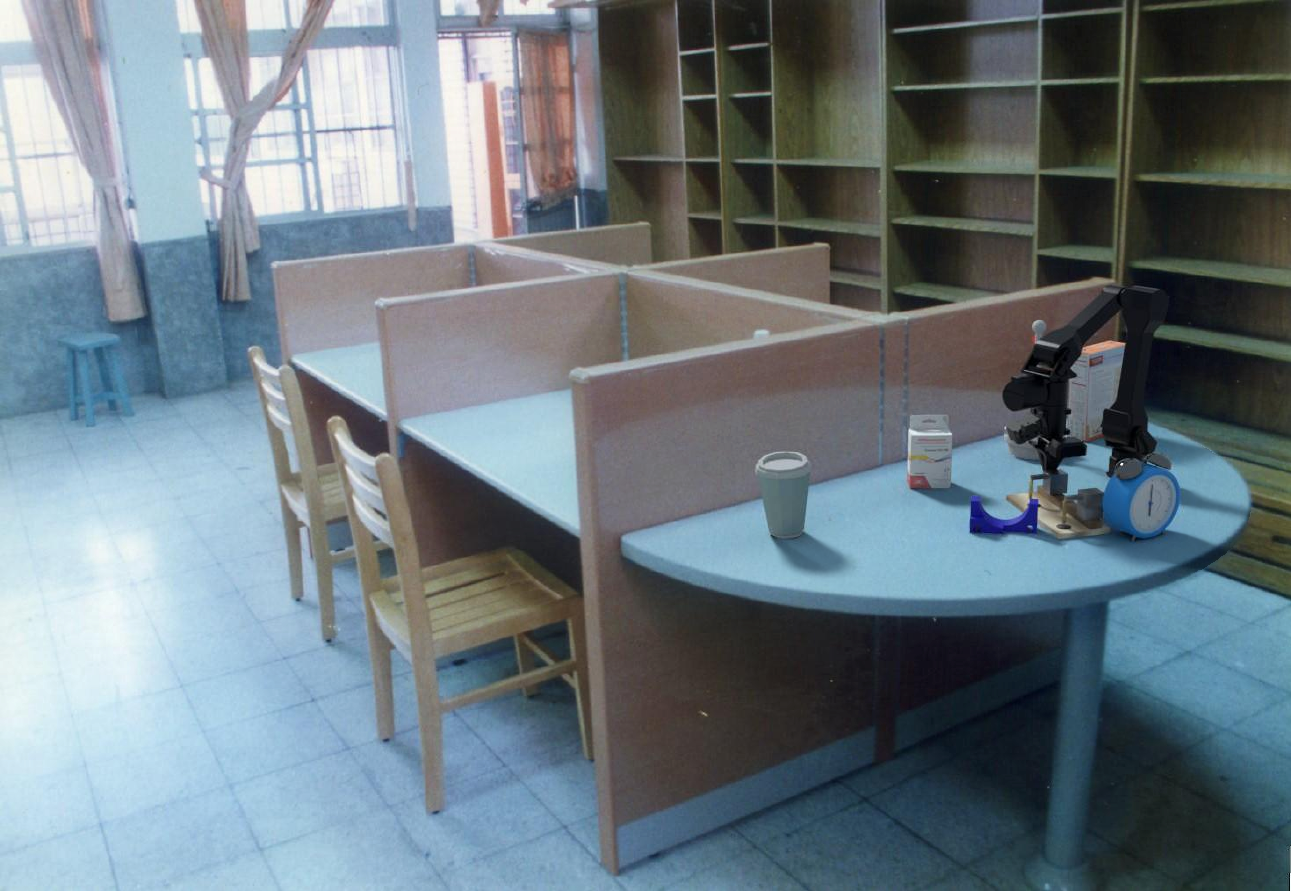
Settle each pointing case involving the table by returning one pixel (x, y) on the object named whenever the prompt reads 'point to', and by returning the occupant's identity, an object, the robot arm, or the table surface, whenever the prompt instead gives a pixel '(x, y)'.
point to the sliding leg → (1051, 482)
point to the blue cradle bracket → (992, 525)
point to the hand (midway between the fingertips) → (1047, 478)
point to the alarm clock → (1142, 496)
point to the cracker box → (1093, 388)
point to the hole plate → (1066, 512)
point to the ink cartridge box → (929, 452)
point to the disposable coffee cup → (784, 491)
